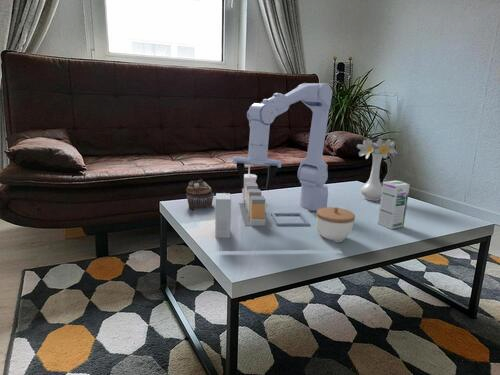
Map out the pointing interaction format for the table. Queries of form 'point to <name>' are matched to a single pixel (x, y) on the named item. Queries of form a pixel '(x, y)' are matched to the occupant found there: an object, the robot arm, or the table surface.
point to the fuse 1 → (249, 186)
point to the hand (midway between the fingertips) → (254, 188)
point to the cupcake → (199, 195)
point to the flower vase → (375, 166)
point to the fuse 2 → (252, 193)
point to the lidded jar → (334, 223)
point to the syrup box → (393, 204)
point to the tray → (290, 223)
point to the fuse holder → (253, 221)
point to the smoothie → (248, 180)
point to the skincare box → (222, 215)
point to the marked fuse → (257, 207)
